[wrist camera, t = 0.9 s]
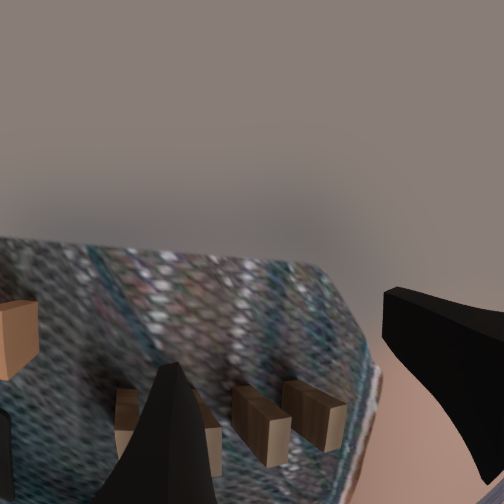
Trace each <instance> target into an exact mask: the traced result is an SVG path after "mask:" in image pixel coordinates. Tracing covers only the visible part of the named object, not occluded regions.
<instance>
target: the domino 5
mask: <svg viewBox="0 0 504 504" xmlns="http://www.w3.org/2000/svg"><path fill="white" fill-rule="evenodd" d="M347 405H348V404H346V403H344V402H342V401H340V400H338V399H336V398H334V397H332V396H330V395H328V394H326V393H324V392H322V391H320V390H318V389H316V388H314V387H312V386H310V385H308V384H306V383H304V382H302V381H301V380H299V379H297V380H290V381H283V391H282V405H281V409H282V410H283V411H284V412H286V413H287V414H288V415H290V416H291V417H292V420H291V428H292V429H293V430H294V431H296V432H297V433H298V434H300V435H301V436H302V437H303V438H305V439H306V440H307V441H309V442H310V443H311V444H313V445H314V446H315V447H317V448H318V449H320V450H321V451H322V452H324V453H325V452H329V451H332V450H335V449H338V448H341V443H342V437H343V431H344V425H345V418H346V412H347Z"/></svg>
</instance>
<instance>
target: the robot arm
mask: <svg viewBox="0 0 504 504" xmlns="http://www.w3.org/2000/svg"><path fill="white" fill-rule="evenodd" d="M382 338H383V339H384V341H385V342H386V343H387V345H388V347H389V348H390V349H391V351H392V352H393V353H394V355H395V356H396V357H397V358H398V359H399V361H400V362H401V363H402V364H403V365H404V366H405V367H406V368H407V369H408V370H409V371H410V372H411V373H412V374H413V375H414V376H415V377H416V378H417V379H418V380H419V381H420V382H421V383H422V384H423V386H424V387H425V388H426V389H427V390H428V391H429V392H430V393H431V394H432V395H433V396H434V397H435V399H436V400H437V401H438V402H439V404H440V405H441V406H442V408H443V409H444V411H445V412H446V413H447V415H448V416H449V417H450V419H451V421H452V422H453V424H454V425H455V427H456V428H457V430H458V432H459V433H460V435H461V436H462V438H463V440H464V442H465V444H466V446H467V448H468V449H469V451H470V453H471V455H472V457H473V459H474V462H475V464H476V466H477V468H478V471H479V473H480V476H481V479H482V480H483V481H484V482H485V484H486V485H489V484H490V483H491V482H492V481H493V480H494V479H495V478H496V477H497V476H498V475H499V474H500V473H501V472H502V471H503V470H504V312H498V311H491V310H485V309H480V308H475V307H471V306H467V305H463V304H459V303H455V302H452V301H448V300H445V299H441V298H438V297H434V296H431V295H427V294H424V293H421V292H417V291H413V290H410V289H405V288H401V287H395V288H393V289H390V290H388V291H385V292H384V301H383V324H382ZM503 501H504V478H503V479H502V480H501V481H500V482H499V483H498V484H497V485H496V486H495V487H494V488H493V489H492V490H491V491H490V492H489V493H488V494H487V495H485V496H484V497H483V498H482V499H481V500H480V501H479V502H478V503H476V504H501V503H502V502H503ZM89 504H217V500H216V497H215V493H214V488H213V482H212V476H211V469H210V462H209V455H208V448H207V440H206V433H205V427H204V423H203V419H202V415H201V411H200V407H199V403H198V401H197V399H196V397H195V395H194V393H193V391H192V389H191V387H190V385H189V383H188V381H187V379H186V377H185V375H184V373H183V371H182V369H181V367H180V365H179V362H176V363H172V364H168V365H164V366H160V368H159V369H158V372H157V375H156V377H155V380H154V383H153V386H152V388H151V391H150V394H149V396H148V399H147V401H146V404H145V406H144V409H143V411H142V414H141V416H140V419H139V421H138V423H137V425H136V427H135V430H134V432H133V434H132V436H131V438H130V440H129V442H128V444H127V446H126V448H125V450H124V452H123V454H122V456H121V458H120V459H119V461H118V463H117V464H116V466H115V468H114V470H113V471H112V473H111V474H110V476H109V477H108V479H107V480H106V482H105V483H104V485H103V486H102V488H101V489H100V490H99V492H98V493H97V495H96V496H95V497H94V499H93V500H92V501H91V502H90V503H89Z"/></svg>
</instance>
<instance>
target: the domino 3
mask: <svg viewBox="0 0 504 504" xmlns="http://www.w3.org/2000/svg"><path fill="white" fill-rule="evenodd" d="M192 391H193V393H194V395H195V397H196V399H197V401H198V403H199V407H200V411H201V415H202V419H203V423H204V427H205V433H206V440H207V448H208V455H209V462H210V469H211V476H212V477H215V476H222V427H221V426H220V424H219V423H218V421H217V420H216V418H215V417H214V416H213V414H212V413H211V411H210V410H209V408H208V407H207V405H206V404H205V402H204V401H203V399H202V398H201V396H200V395H199V393H198V392H197V390H196V389H192Z"/></svg>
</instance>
